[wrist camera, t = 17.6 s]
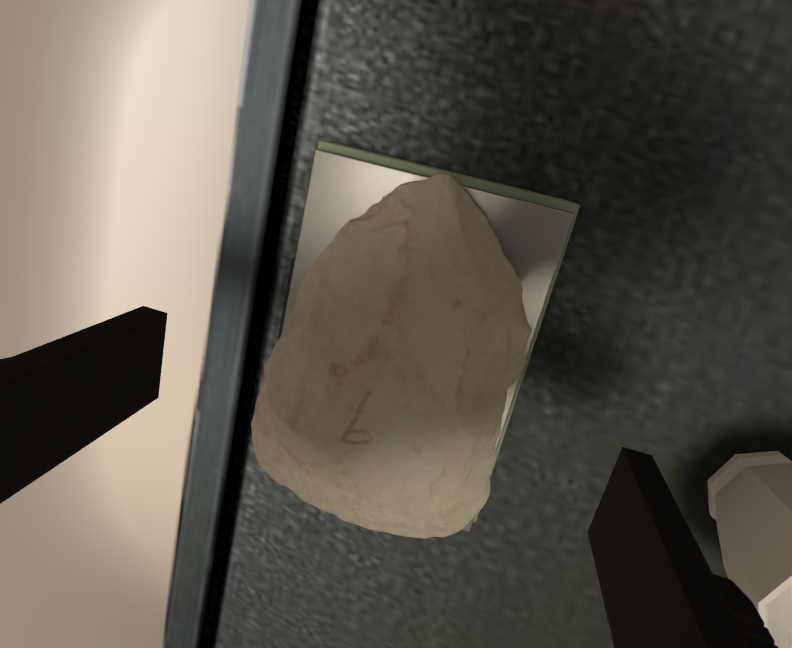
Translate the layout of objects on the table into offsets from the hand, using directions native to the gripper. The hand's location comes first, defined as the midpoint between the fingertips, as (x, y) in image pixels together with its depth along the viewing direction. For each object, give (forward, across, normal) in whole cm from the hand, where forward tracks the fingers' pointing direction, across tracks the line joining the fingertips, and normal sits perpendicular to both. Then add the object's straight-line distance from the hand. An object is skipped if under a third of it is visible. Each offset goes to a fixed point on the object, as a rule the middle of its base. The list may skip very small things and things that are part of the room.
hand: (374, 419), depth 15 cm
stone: (+6, 0, 0) cm, 6 cm away
